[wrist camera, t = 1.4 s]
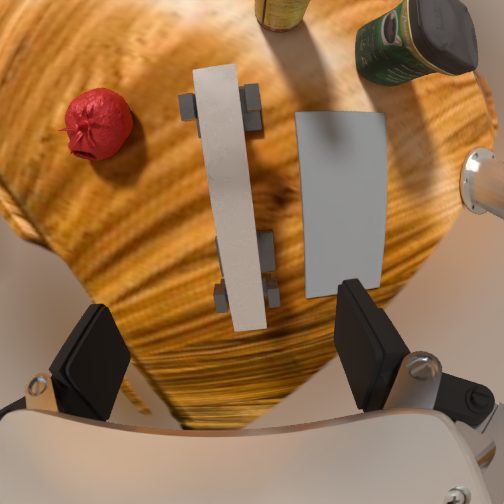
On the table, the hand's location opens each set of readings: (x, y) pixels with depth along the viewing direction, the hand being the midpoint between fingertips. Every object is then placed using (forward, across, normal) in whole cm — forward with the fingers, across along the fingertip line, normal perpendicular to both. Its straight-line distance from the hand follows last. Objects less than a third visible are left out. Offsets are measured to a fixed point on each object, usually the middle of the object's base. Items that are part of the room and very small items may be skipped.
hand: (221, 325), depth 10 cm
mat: (+28, -15, +5) cm, 33 cm away
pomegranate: (+29, +17, -12) cm, 35 cm away
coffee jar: (+29, -22, -18) cm, 40 cm away
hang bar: (+18, 0, 0) cm, 18 cm away
